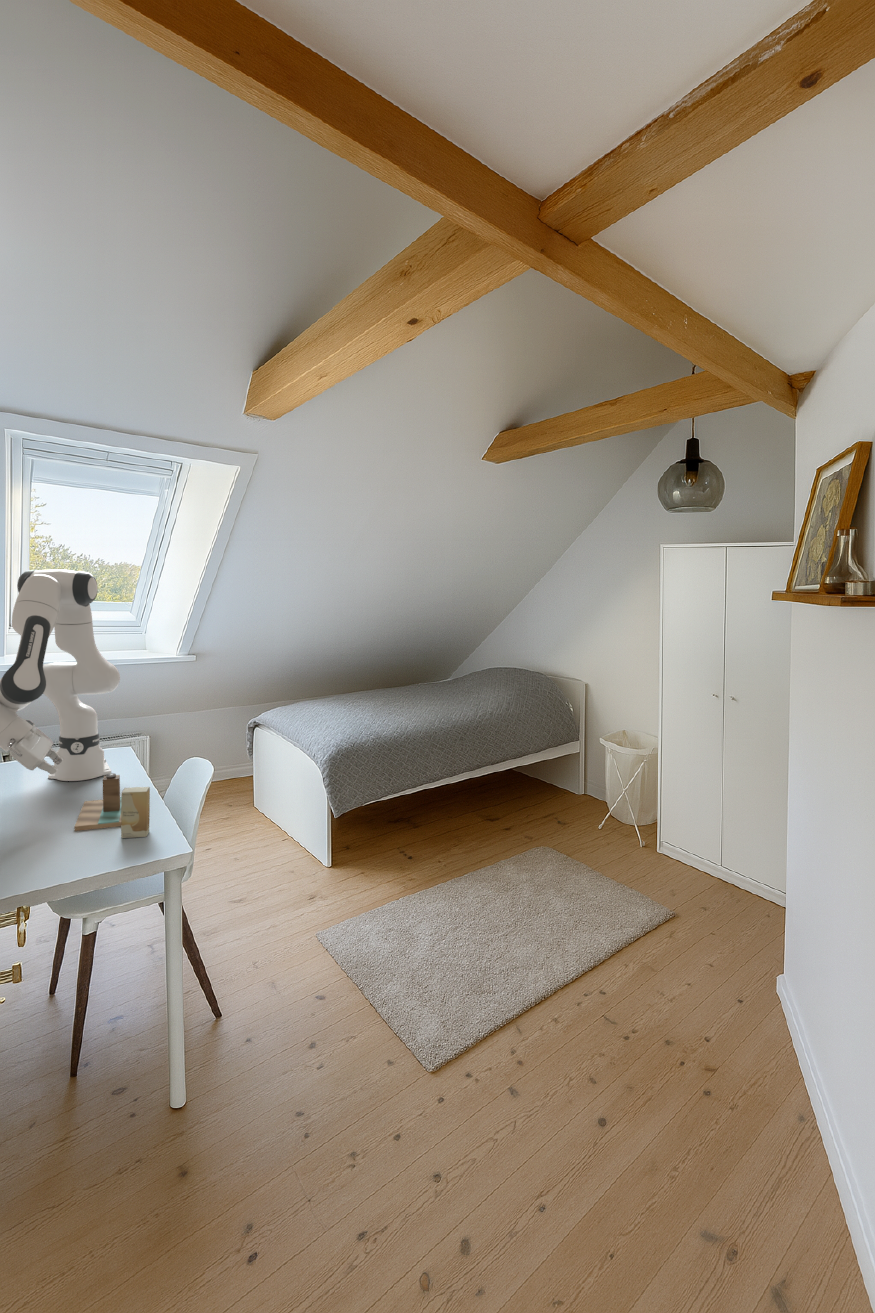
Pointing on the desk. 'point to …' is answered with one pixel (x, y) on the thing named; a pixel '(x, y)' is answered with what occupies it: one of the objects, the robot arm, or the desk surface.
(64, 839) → the desk surface
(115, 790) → the walnut post
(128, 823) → the skincare box
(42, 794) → the desk surface
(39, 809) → the desk surface
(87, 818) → the tan flat board
